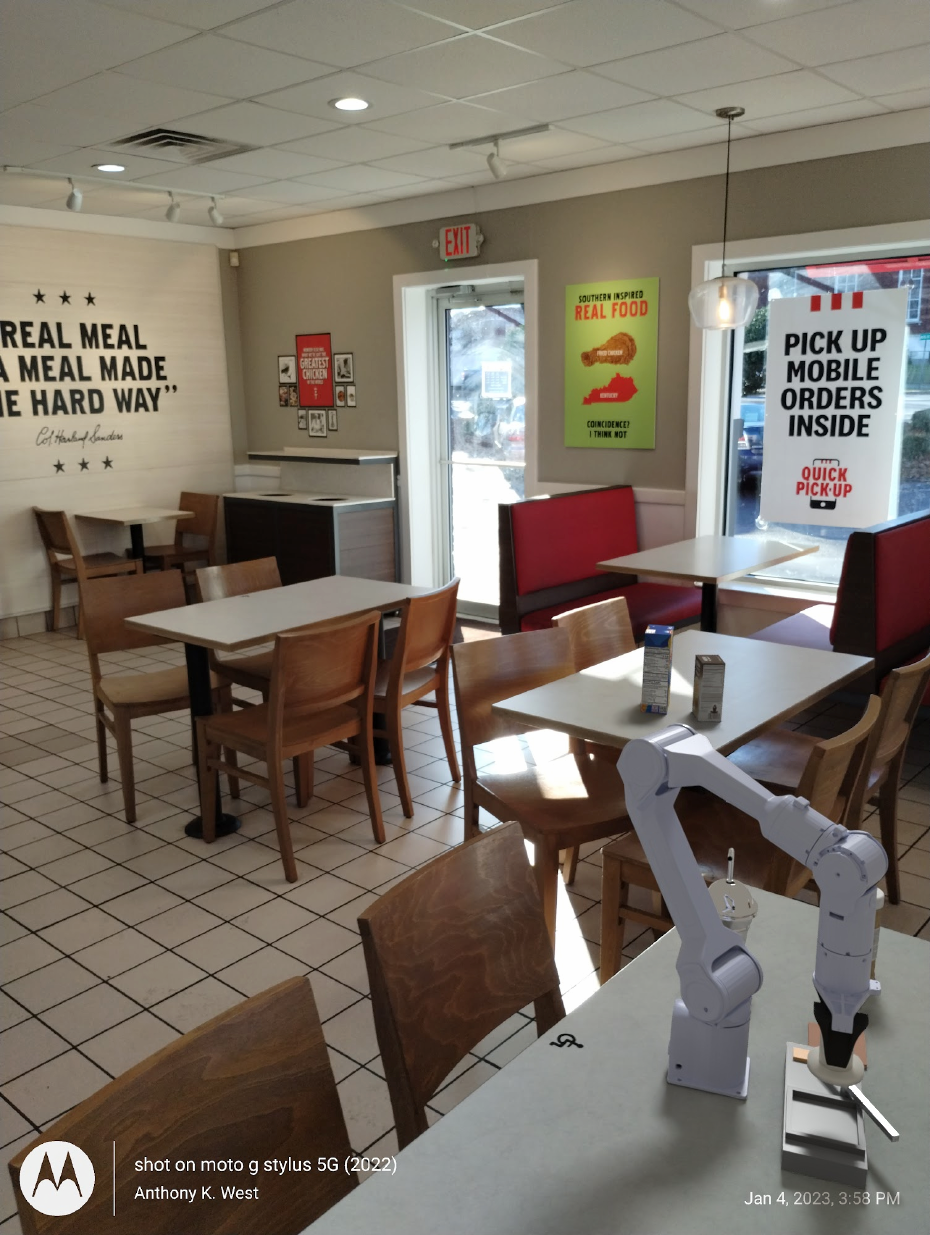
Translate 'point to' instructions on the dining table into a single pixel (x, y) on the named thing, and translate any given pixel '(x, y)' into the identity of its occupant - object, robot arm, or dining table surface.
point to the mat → (858, 1048)
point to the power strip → (820, 1126)
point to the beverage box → (657, 669)
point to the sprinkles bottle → (876, 929)
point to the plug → (834, 1068)
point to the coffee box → (708, 687)
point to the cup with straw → (734, 901)
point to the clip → (870, 1111)
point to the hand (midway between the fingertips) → (836, 1053)
